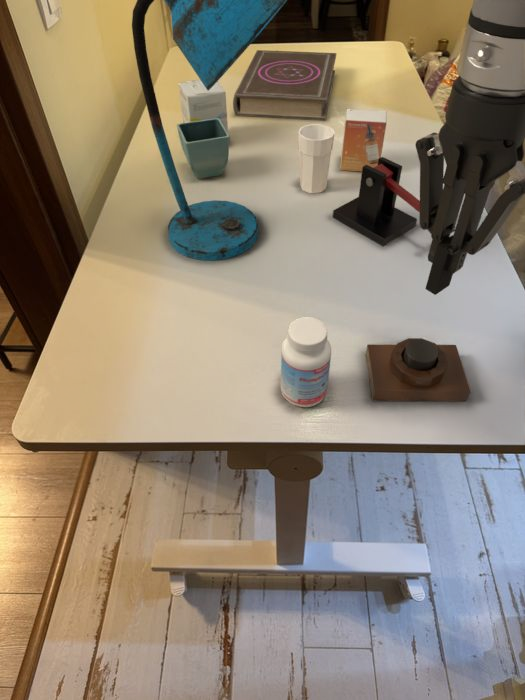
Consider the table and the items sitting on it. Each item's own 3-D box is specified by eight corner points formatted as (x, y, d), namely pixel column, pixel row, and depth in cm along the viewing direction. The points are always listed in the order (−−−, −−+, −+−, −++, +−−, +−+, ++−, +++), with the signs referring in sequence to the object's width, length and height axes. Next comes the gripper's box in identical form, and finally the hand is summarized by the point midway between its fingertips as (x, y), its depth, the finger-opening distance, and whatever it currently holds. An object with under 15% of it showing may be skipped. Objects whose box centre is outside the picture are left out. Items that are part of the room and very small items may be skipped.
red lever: (443, 220, 85) (450, 209, 83) (425, 232, 83) (430, 221, 81) (382, 172, 90) (386, 160, 88) (363, 182, 88) (367, 170, 86)
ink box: (230, 145, 115) (226, 90, 107) (193, 152, 114) (186, 96, 105) (219, 129, 121) (215, 75, 112) (184, 135, 119) (176, 81, 110)
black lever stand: (415, 226, 93) (428, 170, 85) (382, 246, 89) (393, 189, 81) (365, 199, 99) (373, 145, 91) (332, 217, 95) (337, 162, 87)
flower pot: (233, 178, 106) (230, 135, 99) (190, 186, 104) (185, 143, 97) (222, 159, 111) (218, 117, 105) (182, 166, 110) (176, 123, 103)
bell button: (431, 348, 68) (434, 339, 67) (438, 371, 65) (441, 362, 64) (401, 348, 68) (403, 338, 67) (406, 371, 65) (408, 362, 64)
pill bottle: (303, 417, 65) (307, 358, 57) (271, 388, 69) (270, 329, 60) (336, 391, 68) (344, 331, 60) (304, 365, 71) (307, 305, 63)
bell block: (452, 355, 72) (459, 335, 69) (466, 401, 67) (474, 381, 64) (365, 355, 72) (369, 335, 69) (372, 400, 67) (376, 381, 64)
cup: (327, 196, 100) (332, 141, 92) (294, 193, 101) (295, 138, 93) (331, 179, 105) (336, 125, 96) (299, 176, 106) (301, 122, 97)
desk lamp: (274, 270, 85) (274, -82, 52) (150, 252, 89) (76, -86, 56) (294, 216, 96) (303, -105, 63) (182, 203, 100) (135, -107, 66)
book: (325, 120, 123) (326, 98, 119) (233, 115, 126) (232, 94, 122) (334, 72, 143) (336, 52, 140) (255, 69, 146) (255, 49, 142)
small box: (339, 171, 107) (344, 119, 99) (341, 157, 110) (346, 107, 103) (378, 173, 106) (387, 122, 98) (379, 160, 110) (387, 109, 102)
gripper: (411, 71, 47) (375, 274, 65) (544, 116, 40) (463, 330, 58) (462, 51, 50) (414, 250, 68) (592, 90, 43) (502, 300, 61)
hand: (437, 287), depth 63 cm, fingers closed
